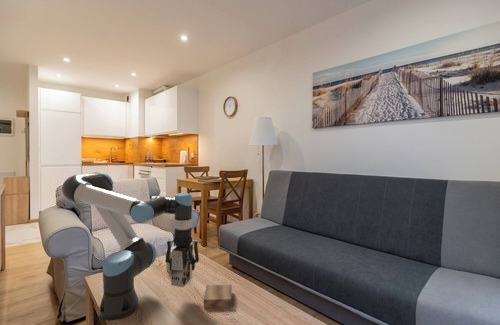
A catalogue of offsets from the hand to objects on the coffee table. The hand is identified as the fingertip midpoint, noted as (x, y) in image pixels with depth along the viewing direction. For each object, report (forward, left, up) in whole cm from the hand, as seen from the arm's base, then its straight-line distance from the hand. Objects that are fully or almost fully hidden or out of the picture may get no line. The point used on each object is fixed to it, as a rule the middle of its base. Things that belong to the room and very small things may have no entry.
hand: (182, 276), depth 119 cm
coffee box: (0, 0, -2) cm, 2 cm away
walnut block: (+17, -1, -11) cm, 20 cm away
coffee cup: (-10, +30, -11) cm, 33 cm away
